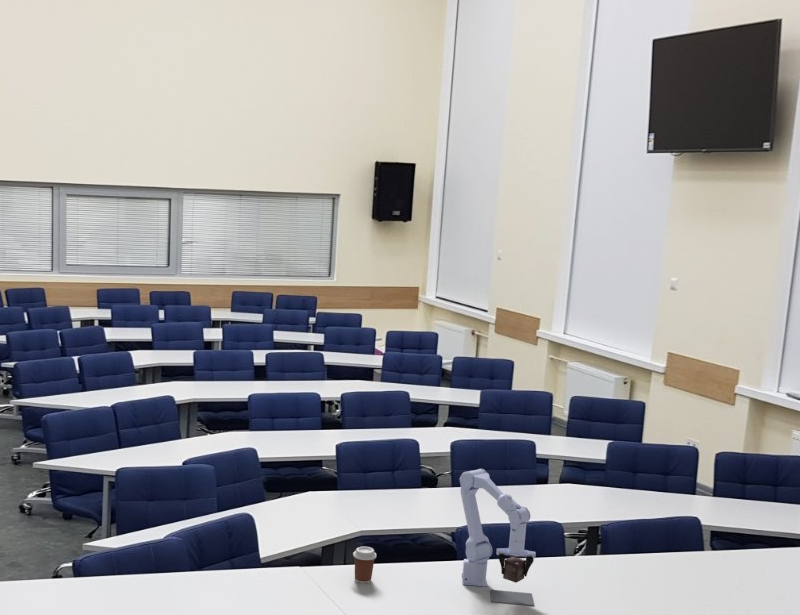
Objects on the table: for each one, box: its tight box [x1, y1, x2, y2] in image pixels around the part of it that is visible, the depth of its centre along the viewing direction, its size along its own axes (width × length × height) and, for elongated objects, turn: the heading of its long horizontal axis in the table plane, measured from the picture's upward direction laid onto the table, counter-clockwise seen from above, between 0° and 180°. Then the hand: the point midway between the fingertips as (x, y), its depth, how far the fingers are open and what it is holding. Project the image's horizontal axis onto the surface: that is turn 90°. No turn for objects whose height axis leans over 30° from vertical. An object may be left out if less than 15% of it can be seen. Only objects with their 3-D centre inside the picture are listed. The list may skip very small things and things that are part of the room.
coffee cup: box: [352, 546, 377, 584], centre depth 370 cm, size 9×9×12 cm
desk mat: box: [489, 589, 535, 607], centre depth 364 cm, size 16×11×1 cm
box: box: [502, 556, 526, 584], centre depth 363 cm, size 6×6×7 cm
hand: (513, 574), depth 363 cm, fingers closed on box, 7 cm apart
